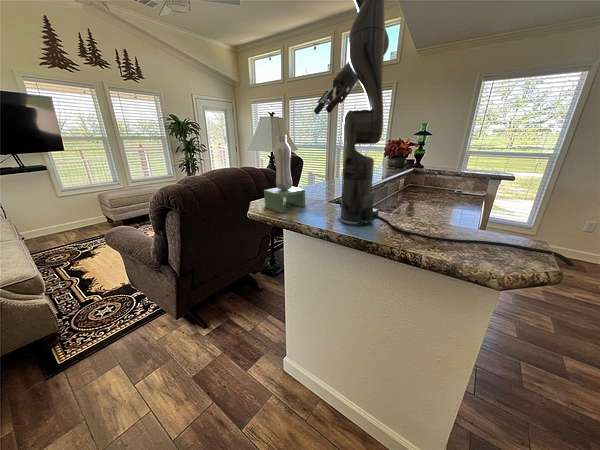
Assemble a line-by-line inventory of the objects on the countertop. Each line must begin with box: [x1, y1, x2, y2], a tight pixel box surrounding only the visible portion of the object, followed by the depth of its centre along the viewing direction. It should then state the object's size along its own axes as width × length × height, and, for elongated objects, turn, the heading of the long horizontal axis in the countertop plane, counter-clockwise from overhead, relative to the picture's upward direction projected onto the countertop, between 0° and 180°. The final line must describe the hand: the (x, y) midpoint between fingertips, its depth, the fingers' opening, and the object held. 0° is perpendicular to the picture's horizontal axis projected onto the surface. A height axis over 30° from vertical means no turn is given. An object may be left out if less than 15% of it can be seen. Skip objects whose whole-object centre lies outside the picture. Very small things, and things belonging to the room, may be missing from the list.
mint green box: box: [263, 185, 306, 214], centre depth 93 cm, size 11×12×7 cm
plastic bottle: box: [273, 134, 293, 190], centre depth 88 cm, size 6×7×20 cm
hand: (321, 111), depth 88 cm, fingers open, 8 cm apart
